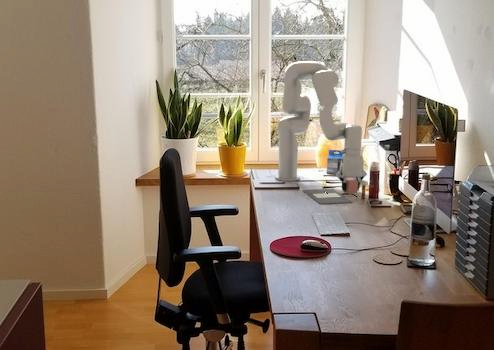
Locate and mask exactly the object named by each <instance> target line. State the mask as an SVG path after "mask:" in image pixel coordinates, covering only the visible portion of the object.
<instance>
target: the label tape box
mask: <svg viewBox="0 0 494 350" xmlns="http://www.w3.org/2000/svg"><path fill="white" fill-rule="evenodd" d="M341 151H342V149H341V150H338V149H328V155H327V158H326V159H327V161H326V162H327V163H326V174H332V175H333V174H335V175H336V173H337V172H338V171H339V170H340V166H341V160H342V156H343V155H344V153H342V152H341Z"/></svg>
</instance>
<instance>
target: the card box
mask: <svg viewBox="0 0 494 350" xmlns="http://www.w3.org/2000/svg"><path fill="white" fill-rule="evenodd" d="M346 183H347V186H346V191H344V192H345V193H347V194H348V195H358V192H359V191H358V181H357V180H355V179H353V178H347V179H346Z"/></svg>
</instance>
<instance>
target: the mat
mask: <svg viewBox="0 0 494 350" xmlns="http://www.w3.org/2000/svg"><path fill="white" fill-rule="evenodd" d="M324 191H326V192H327V193H328V194H327V193H325V192H324ZM302 193H304V194H306V195H307V196H308V197H309V198H310V199H312V200H313V201H314V202H316V203H317V204H318V205H333V204H334V205H336V204H338V205H339V204H353V203H354V202H353V200H351V199H349V198H348V197H346V195H343V194H342V193H340V192H339V191H337V190H336V189H334V188H315V189H302Z"/></svg>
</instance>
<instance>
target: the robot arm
mask: <svg viewBox="0 0 494 350" xmlns="http://www.w3.org/2000/svg"><path fill="white" fill-rule="evenodd" d="M339 79H340V78H339V75H338V74H337V72H336V71H334V70H333V69H331V68H329V67H327V66H325V65H323V64H322V63H320V62H317V61H296V62H293V63H290V64H289V65H288V66H287V67H286V69H285V71H284V87H283V96H282V104H281V105H282V111H283V112H284V114H286V115H293V116H285V117H283V118H281V119H280V120H278V123H277V127H276V128H277V135H278V136H277V137H278V165H277V166H278V167H277V168H278V174H276V175H275V176H274V178H275V179H276V180H277V181H282V182H295V181H299V180H300V179H301V176H300V175H298V150H299V149H298V148H299V147H298V145H299V144H298V140H297V137H296V136H297V135H303V134H305V133H306V132H307V131H308V129H309V126H310V119H311V118H310V116H311V109H312V107H311V106H312V105H311V100H310V98H309V96H307V95H306V94H302V83H301V80H311V82H312V85H313V88H314V91H315V93H316V96H317V99H318V102H319V105H320V109H319V116H318V119H319V125H320V129H321V130H322V133H323V135H324V137H325V138H326V139H327V140H329V141H331V142H332V141H338V140H344V147H343V149H341V152H342V153H344V155H343V156H342V160H341V166H340V170H339V171H338V172H337V173H336V174H335V177H337V179H339V180H340V182H341V190H342V191H343V192H345V191H346V186H347V183H346V179H347V177H356V180H357V181H358V192H359V191H360V188H361V182H362V181H363V180H364V178H366V176H367V175H368V173H367V172H366V170H364V168H365V167H364V157H363V155H362V137H363V135H362V134H363V128H362V126H361V125H358V124H349V123H347V122H337V123H335V121H334V119H333V118H334V117H333V109H334V107H335V105H336V104H337V103H338V101H339V98H338V96H337V93H336V91H335V87H338V84H339V81H340V80H339Z"/></svg>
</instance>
